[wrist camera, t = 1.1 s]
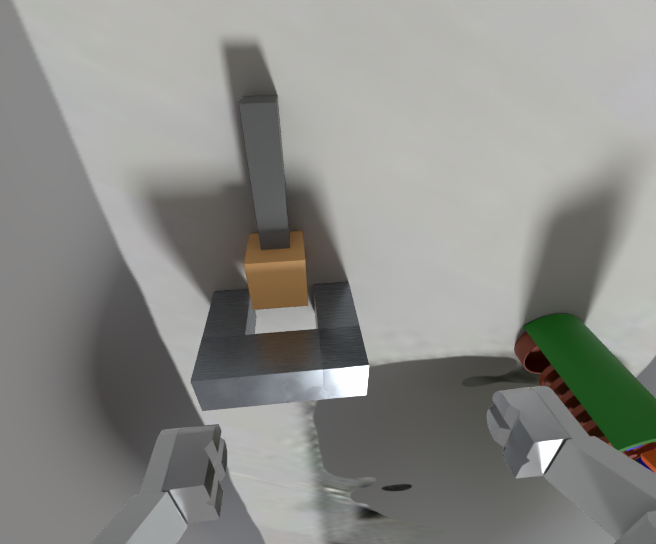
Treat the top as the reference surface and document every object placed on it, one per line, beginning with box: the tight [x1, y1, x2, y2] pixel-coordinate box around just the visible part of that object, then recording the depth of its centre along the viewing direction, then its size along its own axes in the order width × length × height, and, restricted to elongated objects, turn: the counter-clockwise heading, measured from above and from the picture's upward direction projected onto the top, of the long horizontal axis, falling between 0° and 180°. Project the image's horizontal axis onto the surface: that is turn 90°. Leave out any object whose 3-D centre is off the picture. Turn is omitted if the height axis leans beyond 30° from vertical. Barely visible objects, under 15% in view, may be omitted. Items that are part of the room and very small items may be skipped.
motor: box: [514, 314, 656, 474], centre depth 37 cm, size 10×9×20 cm
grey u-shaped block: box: [191, 282, 369, 411], centre depth 33 cm, size 4×14×11 cm, turn 91°
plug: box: [239, 95, 308, 310], centre depth 28 cm, size 16×5×5 cm, turn 0°
